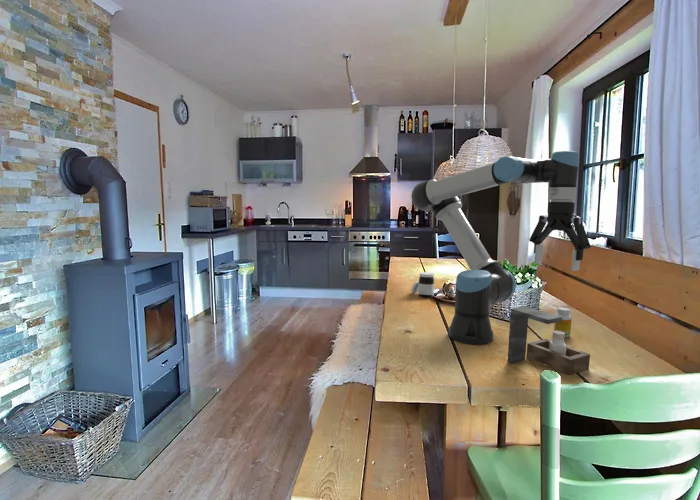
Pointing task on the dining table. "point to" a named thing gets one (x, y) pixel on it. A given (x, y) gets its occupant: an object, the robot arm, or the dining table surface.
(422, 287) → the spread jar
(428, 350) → the dining table surface
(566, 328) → the supplement bottle
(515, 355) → the brown and grey frame
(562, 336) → the pepper shaker
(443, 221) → the robot arm
